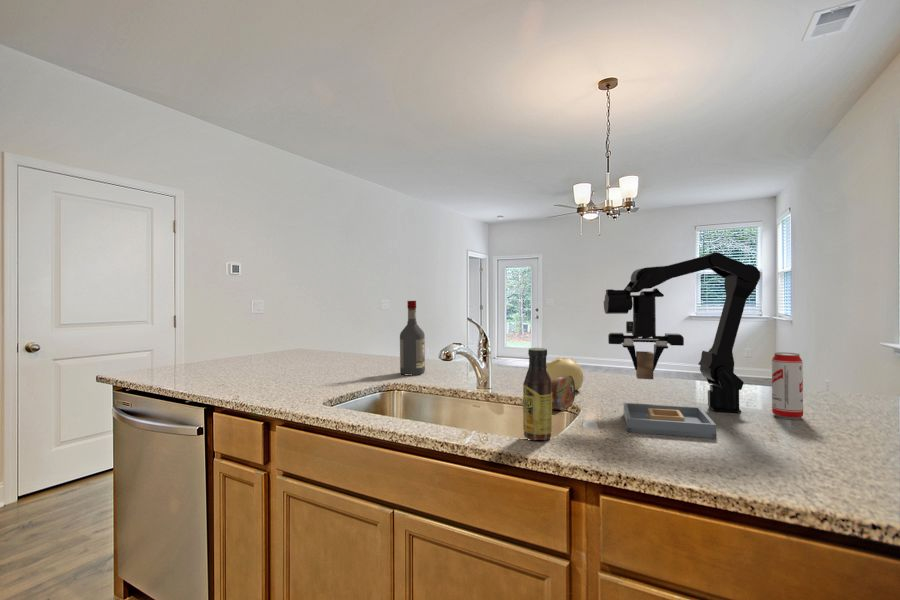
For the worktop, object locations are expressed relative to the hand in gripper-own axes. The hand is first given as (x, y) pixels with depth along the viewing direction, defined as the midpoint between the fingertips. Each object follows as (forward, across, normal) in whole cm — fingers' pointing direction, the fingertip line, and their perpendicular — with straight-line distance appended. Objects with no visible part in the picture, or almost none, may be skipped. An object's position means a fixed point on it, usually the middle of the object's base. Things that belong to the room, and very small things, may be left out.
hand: (644, 370), depth 123 cm
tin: (+11, +22, +4) cm, 25 cm away
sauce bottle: (+11, +25, +34) cm, 43 cm away
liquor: (+11, +85, -36) cm, 93 cm away
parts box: (+10, -3, +16) cm, 19 cm away
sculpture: (+11, +23, -19) cm, 32 cm away
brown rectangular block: (+2, 0, 0) cm, 2 cm away
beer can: (+11, -33, 0) cm, 35 cm away
